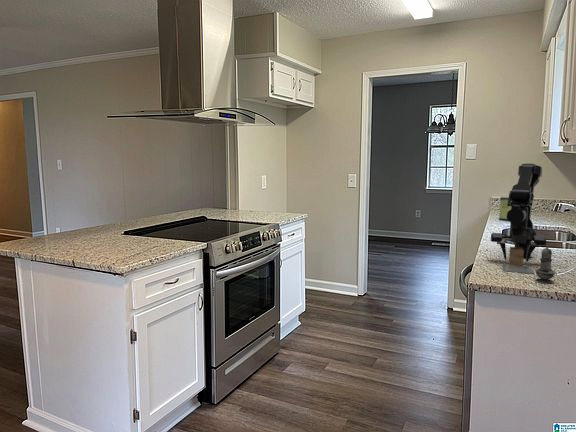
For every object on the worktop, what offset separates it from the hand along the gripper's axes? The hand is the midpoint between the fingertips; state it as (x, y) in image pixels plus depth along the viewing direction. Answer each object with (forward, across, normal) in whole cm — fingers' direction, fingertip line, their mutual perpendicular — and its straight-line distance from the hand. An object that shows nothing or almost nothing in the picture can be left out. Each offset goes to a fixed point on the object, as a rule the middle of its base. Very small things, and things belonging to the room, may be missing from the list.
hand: (515, 260), depth 172 cm
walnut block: (+1, 0, 0) cm, 1 cm away
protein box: (+1, +7, +136) cm, 136 cm away
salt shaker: (+1, +7, -25) cm, 26 cm away
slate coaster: (+1, 0, -11) cm, 11 cm away
